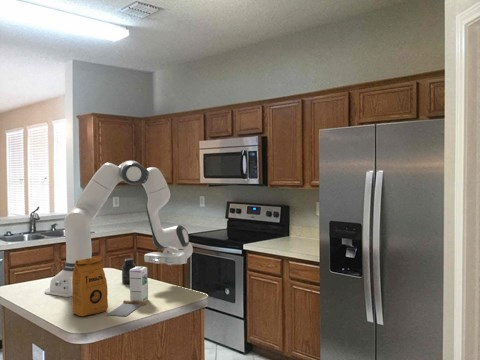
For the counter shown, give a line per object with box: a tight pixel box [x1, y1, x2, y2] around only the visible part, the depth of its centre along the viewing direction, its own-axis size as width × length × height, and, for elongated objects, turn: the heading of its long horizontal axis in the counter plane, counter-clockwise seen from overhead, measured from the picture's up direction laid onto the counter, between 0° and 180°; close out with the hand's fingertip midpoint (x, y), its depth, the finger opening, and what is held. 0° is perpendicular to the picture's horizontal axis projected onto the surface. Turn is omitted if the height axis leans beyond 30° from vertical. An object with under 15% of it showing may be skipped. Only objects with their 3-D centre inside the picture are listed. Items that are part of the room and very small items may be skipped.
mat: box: [106, 303, 142, 317], centre depth 166 cm, size 8×13×1 cm, turn 168°
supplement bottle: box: [121, 257, 137, 285], centre depth 206 cm, size 7×7×12 cm
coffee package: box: [71, 255, 109, 317], centre depth 163 cm, size 10×12×22 cm
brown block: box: [122, 299, 147, 306], centre depth 173 cm, size 10×1×1 cm, turn 78°
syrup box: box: [129, 266, 149, 302], centre depth 177 cm, size 6×6×14 cm
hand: (155, 261), depth 188 cm, fingers closed
